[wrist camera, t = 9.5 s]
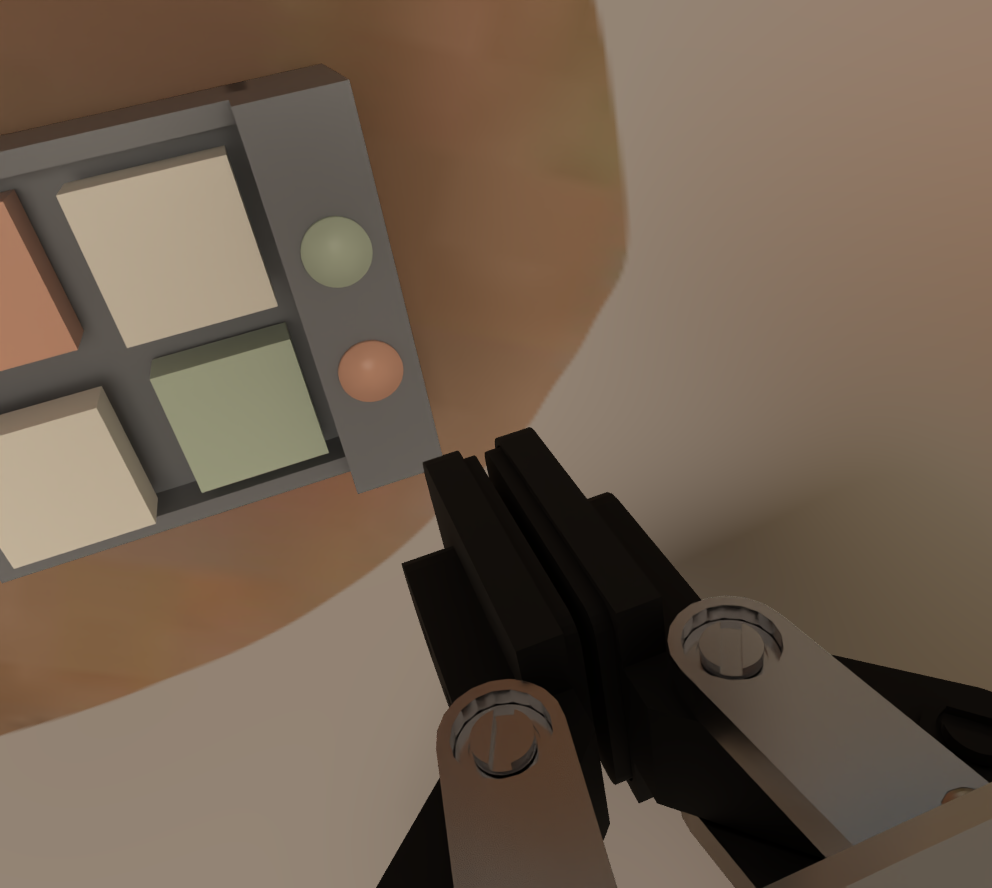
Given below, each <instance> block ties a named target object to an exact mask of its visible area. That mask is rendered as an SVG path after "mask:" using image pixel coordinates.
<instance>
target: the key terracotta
mask: <svg viewBox="0 0 992 888" xmlns="http://www.w3.org/2000/svg"><path fill="white" fill-rule="evenodd" d="M83 332H84V330H83V328H82V326H81V324H80V322H79V320H78V318H77V316H76V314H75V312H74V310H73V308H72V306H71V304H70V302H69V300H68V297H67V295H66V293H65V291H64V289H63V287H62V285H61V283H60V281H59V279H58V277H57V275H56V273H55V271H54V269H53V267H52V265H51V263H50V261H49V259H48V257H47V255H46V253H45V251H44V249H43V247H42V245H41V243H40V241H39V239H38V237H37V235H36V233H35V231H34V229H33V227H32V225H31V223H30V220H29V218H28V216H27V214H26V212H25V210H24V208H23V206H22V204H21V202H20V200H19V198H18V196H17V194H16V192H15V190H14V189H13V190H9V191H5V192H0V371H3V370H7V369H10V368H14V367H17V366H21V365H25V364H28V363H32V362H36V361H39V360H43V359H46V358H50V357H54V356H57V355H61V354H65V353H68V352H72V351H75V350H78V348H79V345H80V342H81V339H82V335H83Z"/></svg>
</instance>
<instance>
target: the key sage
mask: <svg viewBox="0 0 992 888" xmlns="http://www.w3.org/2000/svg"><path fill="white" fill-rule="evenodd" d="M150 381H151V383H152V386H153V388H154V390H155V392H156V394H157V396H158V399H159V401H160V403H161V405H162V407H163V409H164V412H165V414H166V416H167V418H168V420H169V422H170V425H171V427H172V429H173V431H174V433H175V435H176V438H177V440H178V442H179V444H180V446H181V448H182V451H183V453H184V455H185V457H186V459H187V462H188V464H189V466H190V468H191V470H192V472H193V475H194V477H195V479H196V481H197V483H198V485H199V488H200V490H201V492H202V493H203V492H206V491H210V490H213V489H216V488H219V487H222V486H225V485H229V484H232V483H235V482H238V481H241V480H244V479H248V478H251V477H254V476H257V475H260V474H263V473H267V472H270V471H273V470H276V469H279V468H282V467H286V466H289V465H292V464H295V463H298V462H301V461H305V460H308V459H311V458H314V457H317V456H320V455H324V454H327V453H329V452H328V448H327V445H326V441H325V438H324V434H323V431H322V428H321V425H320V422H319V419H318V416H317V413H316V410H315V408H314V405H313V402H312V399H311V396H310V393H309V390H308V387H307V384H306V381H305V378H304V375H303V372H302V369H301V366H300V363H299V360H298V358H297V355H296V352H295V349H294V346H293V343H292V340H291V337H290V334H289V331H288V328H287V325H286V322H284V323H280V324H277V325H273V326H270V327H266V328H262V329H259V330H255V331H252V332H248V333H245V334H241V335H238V336H234V337H231V338H227V339H224V340H220V341H216V342H213V343H209V344H206V345H202V346H199V347H195V348H192V349H188V350H185V351H181V352H177V353H174V354H170V355H167V356H163V357H160V358H156V359H153V360H152V363H151V372H150Z"/></svg>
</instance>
